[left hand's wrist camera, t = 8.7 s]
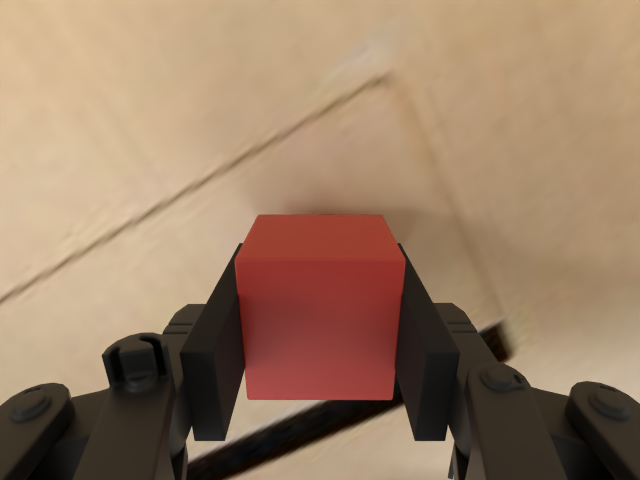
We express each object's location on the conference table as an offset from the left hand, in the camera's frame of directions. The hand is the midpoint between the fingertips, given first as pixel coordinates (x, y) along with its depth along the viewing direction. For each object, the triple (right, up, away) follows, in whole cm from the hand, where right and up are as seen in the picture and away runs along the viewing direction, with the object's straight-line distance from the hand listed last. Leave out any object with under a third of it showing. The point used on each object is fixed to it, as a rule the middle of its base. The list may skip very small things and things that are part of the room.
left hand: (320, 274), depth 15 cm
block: (0, 0, 0) cm, 0 cm away
